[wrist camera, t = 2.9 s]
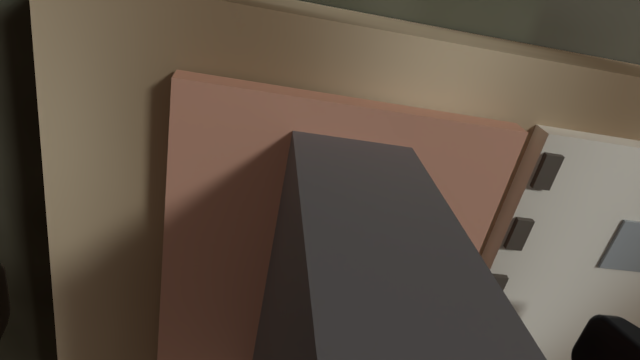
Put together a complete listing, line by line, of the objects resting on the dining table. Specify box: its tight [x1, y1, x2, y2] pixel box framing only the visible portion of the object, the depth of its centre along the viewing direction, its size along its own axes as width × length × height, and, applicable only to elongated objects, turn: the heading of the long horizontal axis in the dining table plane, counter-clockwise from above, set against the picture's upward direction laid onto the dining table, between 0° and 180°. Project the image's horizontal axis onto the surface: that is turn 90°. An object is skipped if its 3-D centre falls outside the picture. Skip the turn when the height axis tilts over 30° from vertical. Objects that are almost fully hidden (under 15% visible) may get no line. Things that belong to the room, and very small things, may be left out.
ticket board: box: [29, 0, 640, 360], centre depth 10 cm, size 16×8×2 cm, turn 79°
